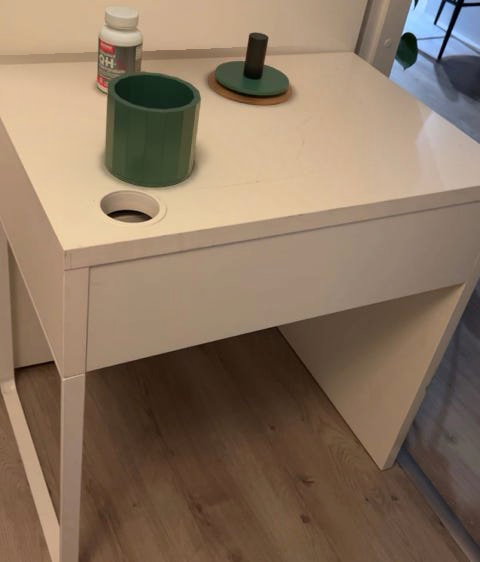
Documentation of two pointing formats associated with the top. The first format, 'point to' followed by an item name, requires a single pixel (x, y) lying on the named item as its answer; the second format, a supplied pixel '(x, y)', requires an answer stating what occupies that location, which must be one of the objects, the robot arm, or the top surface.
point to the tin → (151, 128)
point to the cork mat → (247, 97)
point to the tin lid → (253, 71)
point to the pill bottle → (118, 45)
